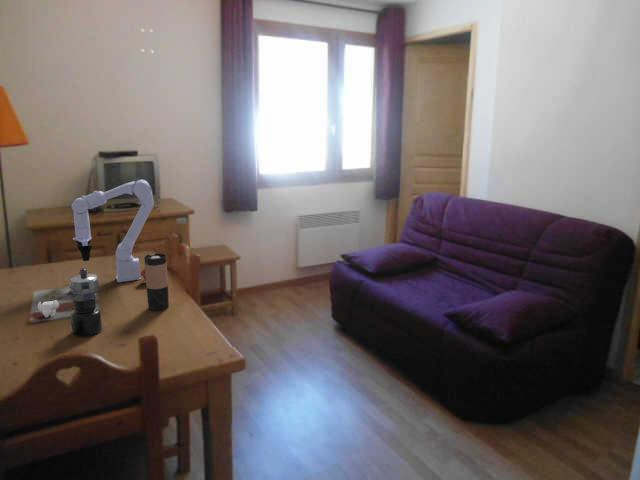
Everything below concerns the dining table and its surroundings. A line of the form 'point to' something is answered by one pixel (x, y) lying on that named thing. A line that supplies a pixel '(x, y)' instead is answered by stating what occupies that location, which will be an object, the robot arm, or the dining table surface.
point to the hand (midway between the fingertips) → (85, 258)
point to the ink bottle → (85, 316)
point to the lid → (83, 277)
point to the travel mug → (156, 282)
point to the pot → (84, 287)
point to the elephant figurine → (48, 307)
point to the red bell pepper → (143, 275)
